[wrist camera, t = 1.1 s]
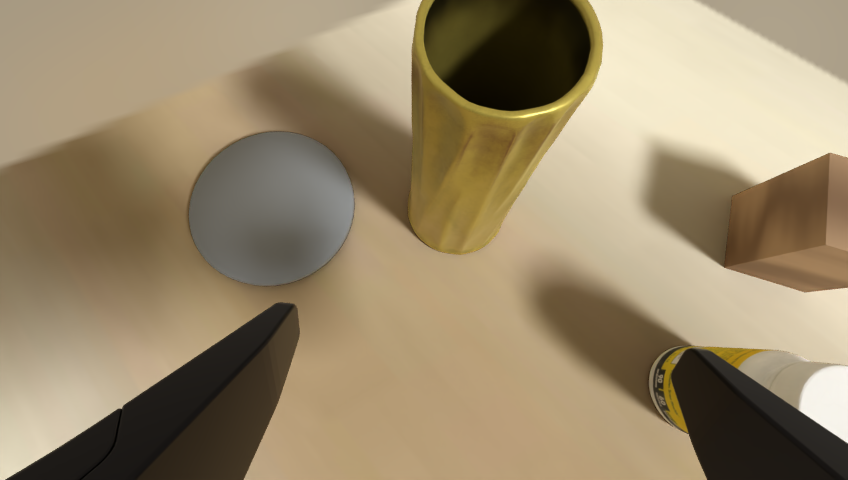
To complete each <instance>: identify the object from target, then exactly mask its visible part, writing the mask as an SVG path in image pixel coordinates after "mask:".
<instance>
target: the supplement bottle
mask: <svg viewBox="0 0 848 480" xmlns="http://www.w3.org/2000/svg"><path fill="white" fill-rule="evenodd" d="M688 348H700V349H707V350H710V351H712V352H713V353H715V354H716V355H718V356H719V357H721V358H722V359H724V360H725V361H727V362H728V363H730V364H731V365H733V366H734V367H735V368H737V369H738V370H740V371H741V372H743V373H744V374H746V375H747V376H749V377H750V378H752V379H753V380H755V381H756V382H758V383H759V384H761V385H762V386H764V387H765V388H767V389H768V390H770V391H771V392H773V393H774V394H775V395H777V396H778V397H780V398H781V399H783V400H784V401H786V402H787V403H789V404H790V405H792V406H793V407H795V408H796V409H798V410H799V411H801V412H802V413H804V414H805V415H807V416H808V417H810V418H811V419H813V420H814V421H815V422H817V423H818V424H820V425H821V426H823V427H824V428H826V429H827V430H829V431H830V432H832V433H833V434H835V435H836V436H838V437H839V438H841V439H842V440H844V441H845V442H847V443H848V366H846V365H840V364H831V363H819V362H811V361H809V360H807V359H805V358H803V357H801V356H799V355H796V354H793V353H789V352H785V351H779V350H763V349H743V348H722V347H704V346H703V347H702V346H678V347H673V348H671V349H668V350H667V351H665V352H663V353H662V354H661V355H660V356H659V357H658V358H657V359H656V361H655V362H654V364H653V366H652V368H651V371H650V376H649V389H650V394H651V397H652V400H653V402H654V404H655V406H656V408H657V410H658V411H659V412H660V414H661V415H662V416H663V418H664V419H665V420H666V421H667V422H669V423H670V424H671V425H672V426H674V427H675V428H677V429H678V430H680V431H683V432H685V433H687V434H689V433H688V430H687V427H686V424H685V421H684V418H683V415H682V412H681V409H680V406H679V403H678V400H677V397H676V394H675V391H674V388H673V385H672V381H671V373H672V370H673V368H674V367H675V365H676V364H677V362H678V361H679V359H680V357H681V356H682V354H683V353H684V351H685V350H686V349H688Z"/></svg>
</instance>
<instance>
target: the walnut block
mask: <svg viewBox="0 0 848 480" xmlns="http://www.w3.org/2000/svg"><path fill="white" fill-rule="evenodd" d="M724 268H727V269H731V270H734V271H737V272H740V273H744V274H747V275H750V276H753V277H757V278H760V279H763V280H766V281H770V282H773V283H776V284H780V285H783V286H786V287H789V288H793V289H796V290H799V291H802V292H813V291H821V290H830V289H839V288H848V158H847V157H843V156H840V155H836V154H833V153H828V154H826V155H824V156H821V157H819V158H817V159H815V160H812V161H810V162H808V163H806V164H803V165H801V166H799V167H797V168H794V169H792V170H790V171H788V172H785V173H783V174H781V175H779V176H776V177H774V178H772V179H770V180H767V181H765V182H763V183H761V184H758V185H756V186H754V187H752V188H749V189H747V190H745V191H743V192H740V193H738V194H736V195H734V196H732V204H731V212H730V221H729V229H728V238H727V246H726V255H725V263H724Z"/></svg>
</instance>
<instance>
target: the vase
mask: <svg viewBox="0 0 848 480" xmlns="http://www.w3.org/2000/svg"><path fill="white" fill-rule="evenodd" d="M602 50H603V40H602V31H601V27H600V23H599V21H598V18H597V16H596V14H595V12H594V10H593V8H592V6H591V4H590V3H589V2H588V0H422V2H421V4H420V6H419V9H418V11H417V15H416V24H415V30H414V37H413V44H412V133H413V147H412V168H411V190H410V193H409V198H408V217H409V221H410V224H411V226H412V228H413V230H414V232H415V233H416V235H417V236H418V237H419V238H420V239H421V240H422V241H423V242H424V243H425V244H427V245H428V246H430V247H431V248H433V249H435V250H437V251H440V252H444V253H449V254H458V255H461V254H466V253H470V252H474V251H477V250H479V249H481V248H483V247H484V246H485V245H487V244H488V243H489V242H490V241H491V240H492V239H493V238H494V237H495V236H496V234H497V233H498V232H499V229H500V227H501V224H502V222H503V220H504V218H505V217H506V215H507V213H508V212H509V210H510V208H511V207H512V205H513V203H514V202H515V200H516V199H517V197H518V196H519V194H520V192H521V191H522V189H523V188H524V186H525V185H526V183H527V181H528V179H529V178H530V176H531V175H532V173H533V172H534V170H535V168H536V167H537V165H538V164H539V162H540V161H541V159H542V157H543V156H544V154H545V153H546V152H547V150H548V149H549V148H550V146H551V145H552V144H553V142H554V141H555V139H556V138H557V137H558V135H559V134H560V132H561V131H562V129H563V128H564V126H565V125H566V123H567V122H568V120H569V119H570V117H571V116H572V115H573V113H574V112H575V110H576V109H577V107H578V106H579V105H580V104H581V102H582V101H583V100H584V98H585V97H586V96H587V94H588V93H589V91H590V90H591V88H592V86H593V84H594V82H595V80H596V78H597V75H598V72H599V69H600V66H601V63H602Z"/></svg>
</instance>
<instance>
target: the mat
mask: <svg viewBox="0 0 848 480" xmlns="http://www.w3.org/2000/svg"><path fill="white" fill-rule="evenodd" d="M354 209H355V202H354V192H353V188H352V184H351V181H350V178H349V176H348V174H347V172H346V170H345V168H344V166H343V165H342V163H341V162H340V160H339V159H338V158H337V157H336V155H335V154H334V153H333V152H332V151H330V150H329V149H328V148H327V147H326V146H324V145H323V144H321V143H320V142H318V141H316V140H314V139H312V138H310V137H307V136H304V135H301V134H296V133H291V132H266V133H260V134H256V135H253V136H249V137H247V138H244V139H242V140H239V141H238V142H236V143H234V144H232V145H230V146H229V147H227V148H226V149H224V150H223V151H222V152H221V153H219V154H218V155H217V156H216V157H215V158H214V159H213V160H212V161H211V162H210V163H209V164H208V165H207V167H206V168H205V169H204V171H203V172H202V174H201V175H200V177H199V179H198V181H197V183H196V185H195V188H194V190H193V193H192V197H191V201H190V207H189V224H190V230H191V234H192V237H193V240H194V243H195V245H196V246H197V248H198V250H199V252H200V253H201V255H202V256H203V257H204V259H205V260H206V261H207V262H208V263H209V264H210V265H211V266H212V267H213V268H215V269H216V270H217V271H219V272H220V273H222V274H224V275H225V276H227V277H229V278H231V279H234V280H237V281H240V282H243V283H247V284H251V285H257V286H278V285H284V284H289V283H292V282H295V281H298V280H301V279H303V278H305V277H307V276H309V275H311V274H313V273H314V272H316V271H318V270H319V269H320V268H322V267H323V266H324V265H325V264H327V263H328V262H329V261H330V260H331V259H332V258H333V257H334V256H335V254H336V253H337V252H338V251H339V249H340V248H341V247H342V245H343V243H344V241H345V240H346V238H347V236H348V233H349V231H350V228H351V225H352V221H353V217H354Z"/></svg>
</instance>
